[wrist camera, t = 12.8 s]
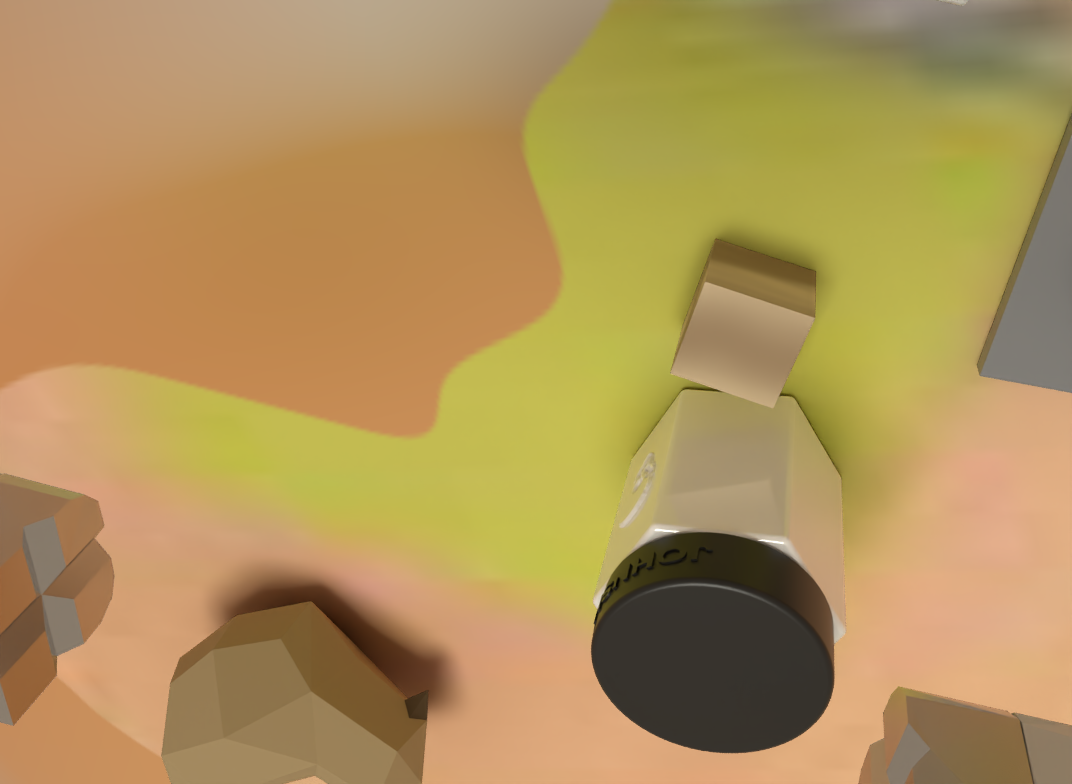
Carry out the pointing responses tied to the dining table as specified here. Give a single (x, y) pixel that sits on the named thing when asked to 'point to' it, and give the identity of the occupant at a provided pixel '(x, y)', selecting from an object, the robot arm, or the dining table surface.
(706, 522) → the jar
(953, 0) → the skincare box
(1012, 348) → the coaster
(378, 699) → the low-poly potato
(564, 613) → the dining table surface
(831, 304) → the dining table surface
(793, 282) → the oak block
